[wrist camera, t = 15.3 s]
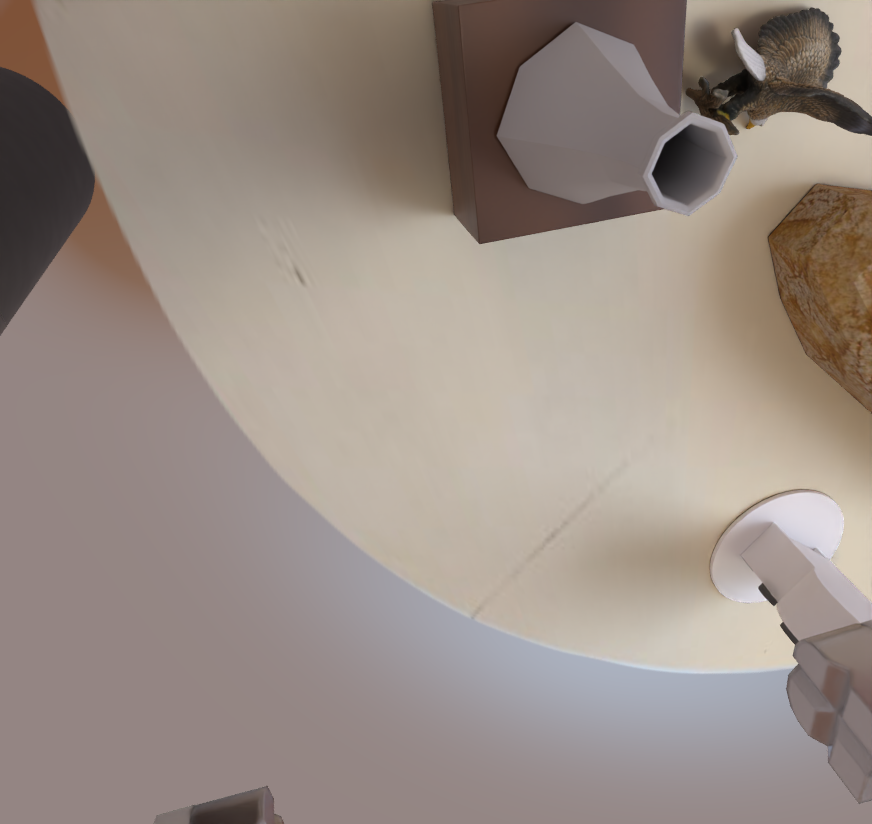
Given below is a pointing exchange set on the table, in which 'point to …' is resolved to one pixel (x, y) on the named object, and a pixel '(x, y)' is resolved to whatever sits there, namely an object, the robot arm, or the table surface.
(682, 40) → the walnut block
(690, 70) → the table surface
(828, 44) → the eagle figurine
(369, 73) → the table surface
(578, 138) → the flask
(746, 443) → the table surface
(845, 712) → the robot arm
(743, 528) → the panda figurine
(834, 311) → the brown rock
